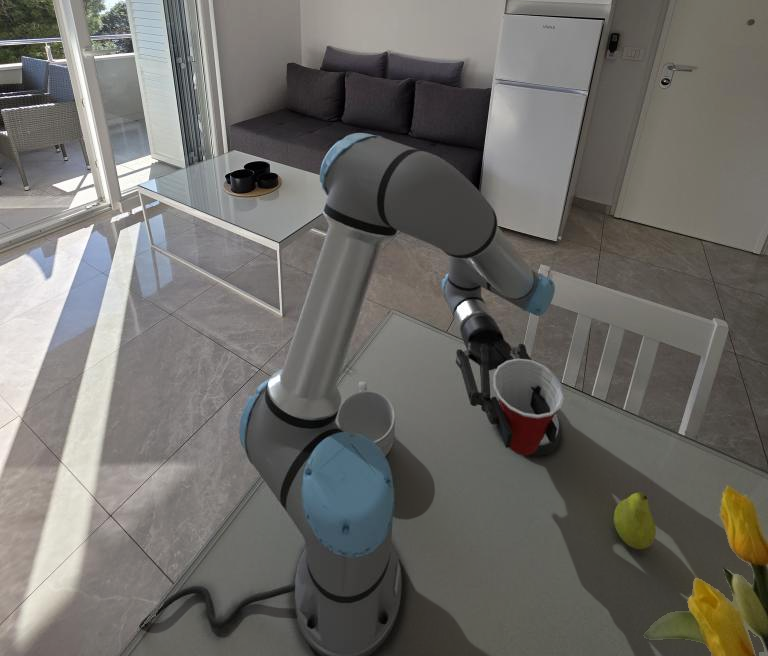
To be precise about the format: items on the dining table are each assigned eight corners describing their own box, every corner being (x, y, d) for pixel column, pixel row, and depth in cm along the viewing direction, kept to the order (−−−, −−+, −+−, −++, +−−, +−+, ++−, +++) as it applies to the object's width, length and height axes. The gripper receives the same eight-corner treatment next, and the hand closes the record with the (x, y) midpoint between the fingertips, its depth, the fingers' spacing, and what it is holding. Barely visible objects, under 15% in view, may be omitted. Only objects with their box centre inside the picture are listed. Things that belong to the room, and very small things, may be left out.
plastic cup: (480, 407, 77) (486, 355, 73) (540, 410, 77) (550, 357, 73) (493, 470, 67) (502, 413, 63) (563, 473, 66) (576, 416, 63)
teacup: (393, 477, 76) (394, 444, 74) (332, 473, 77) (332, 440, 74) (394, 407, 89) (396, 377, 87) (343, 404, 90) (343, 374, 87)
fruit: (637, 516, 71) (653, 465, 68) (658, 560, 66) (677, 507, 62) (602, 516, 71) (617, 465, 68) (621, 559, 66) (638, 506, 62)
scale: (506, 457, 80) (508, 446, 79) (487, 399, 92) (488, 389, 91) (570, 454, 81) (572, 444, 80) (543, 397, 93) (545, 387, 92)
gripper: (520, 339, 89) (585, 448, 68) (430, 347, 86) (468, 464, 65) (525, 309, 87) (594, 412, 65) (432, 317, 84) (472, 427, 62)
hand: (531, 438), depth 65 cm, fingers closed on plastic cup, 6 cm apart
